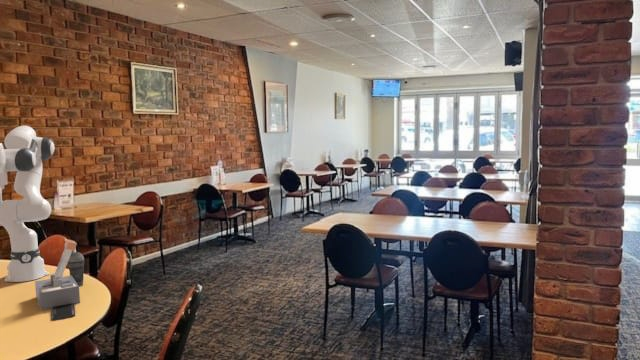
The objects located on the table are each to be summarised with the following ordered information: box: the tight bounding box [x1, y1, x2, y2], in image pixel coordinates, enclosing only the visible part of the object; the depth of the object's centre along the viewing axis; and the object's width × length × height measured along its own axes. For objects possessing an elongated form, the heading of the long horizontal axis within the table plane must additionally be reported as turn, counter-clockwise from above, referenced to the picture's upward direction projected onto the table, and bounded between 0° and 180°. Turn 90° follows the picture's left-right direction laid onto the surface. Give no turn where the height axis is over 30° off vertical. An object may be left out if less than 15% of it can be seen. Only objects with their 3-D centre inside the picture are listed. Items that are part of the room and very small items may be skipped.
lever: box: [52, 238, 78, 280], centre depth 199 cm, size 8×3×18 cm, turn 35°
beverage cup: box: [67, 250, 85, 287], centre depth 217 cm, size 7×7×20 cm
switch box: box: [34, 273, 81, 311], centre depth 198 cm, size 20×14×10 cm
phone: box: [51, 303, 76, 321], centre depth 184 cm, size 8×1×15 cm
